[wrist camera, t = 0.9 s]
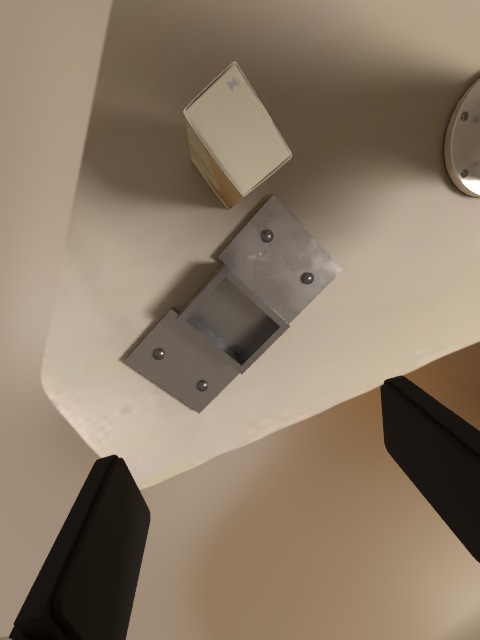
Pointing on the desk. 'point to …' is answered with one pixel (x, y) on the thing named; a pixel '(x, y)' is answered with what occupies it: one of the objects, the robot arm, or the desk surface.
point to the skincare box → (233, 137)
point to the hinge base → (236, 308)
